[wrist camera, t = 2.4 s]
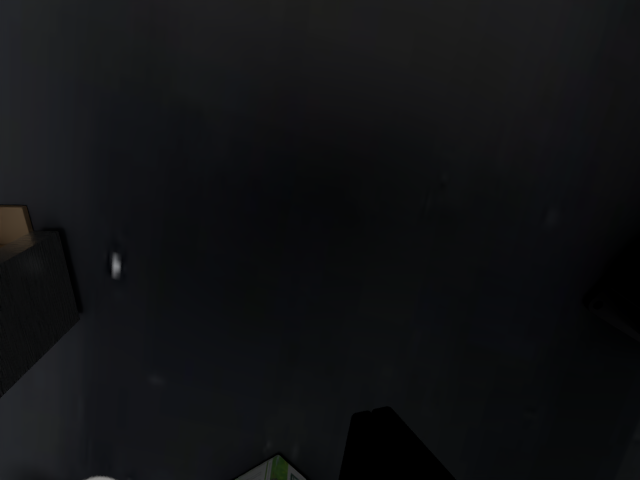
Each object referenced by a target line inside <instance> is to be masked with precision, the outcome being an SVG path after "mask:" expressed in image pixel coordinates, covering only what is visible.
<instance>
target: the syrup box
mask: <svg viewBox="0 0 640 480" xmlns="http://www.w3.org/2000/svg"><path fill="white" fill-rule="evenodd" d="M235 480H306V479H305V478H304V477H303V476H302V475H301V474H300V473H299V472H297V471H296V470H295V469H294V468H293V467H292V466H291V465H289V464H288V463H287V462H286V461H285V460H284V459H283V458H282V457H281V456H279V455H276V456H275V457H273V458H271V459H269V460H268V461H266V462H264V463H262V464H261V465H259V466H257V467H256V468H254V469H252V470H250V471H249V472H247V473H245V474H244V475H242V476H240V477H238V478H237V479H235Z"/></svg>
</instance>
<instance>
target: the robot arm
mask: <svg viewBox="0 0 640 480" xmlns="http://www.w3.org/2000/svg"><path fill="white" fill-rule="evenodd" d="M597 301H598V302H597ZM595 302H597V304H595V305H594V303H595ZM584 306H585V307H586V308H587V309H588V310H589V311H590V312H591V313H593V314H595V315H596V316H598V317H600V318H601V319H603V320H604V321H606V322H608V323H609V324H611V325H612V326H614V327H616V328H617V329H619V330H621V331H622V332H624V333H625V334H627V335H629V336H630V337H632V338H633V339H635V340H637V341H638V342H640V243H639V244H638V245H637V246H636V247H635V248H634V249H633V250H632V251H631V252H630V253H629V254H628V255H627V256H626V257H625V258H624V259H623V261H622V262H621V263H620V264H619V265H618V266H617V267H616V268H615V269H614V270H613V271H612V272H611V273H610V274H609V275H608V276H607V277H606V278H605V279H604V280H603V281H602V282H601V283H600V284H599V285H598V286H597V287H596V288H595V289H594V290H593V291H592V292H591V293H590V294H589V295H588V296H587V297H586V298H585V300H584ZM339 480H456V479H455V478H454V477H453V476H452V475H451V473H450V472H449V471H448V470H447V469H446V468H445V467H444V466H443V465H442V463H441V462H440V461H439V460H438V459H437V458H436V457H435V456H434V455H433V454H432V452H431V451H430V450H429V449H428V448H427V447H426V446H425V445H424V444H423V442H422V441H421V440H420V439H419V438H418V437H417V436H416V435H415V434H414V432H413V431H412V430H411V429H410V428H409V427H408V426H407V425H406V424H405V422H404V421H403V420H402V419H401V418H400V417H399V416H398V415H397V414H396V412H395V411H394V410H393V409H392V408H391V407H388V406H386V407H381V408H377V409H373V410H372V413H371V412H370V411H363V412H358V413H354V414H353V415H352V417H351V422H350V427H349V432H348V436H347V441H346V446H345V451H344V456H343V461H342V465H341V470H340V475H339Z"/></svg>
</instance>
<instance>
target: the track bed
mask: <svg viewBox="0 0 640 480" xmlns="http://www.w3.org/2000/svg"><path fill="white" fill-rule="evenodd" d="M32 231H33V229H32V225H31V221H30V218H29V214H28V210H27V207H26V206H16V205H0V245H6V244H8V243H10V242H12V241H14V240H16V239H18V238H20V237H22V236H24V235H26V234H28V233H30V232H32Z"/></svg>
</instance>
